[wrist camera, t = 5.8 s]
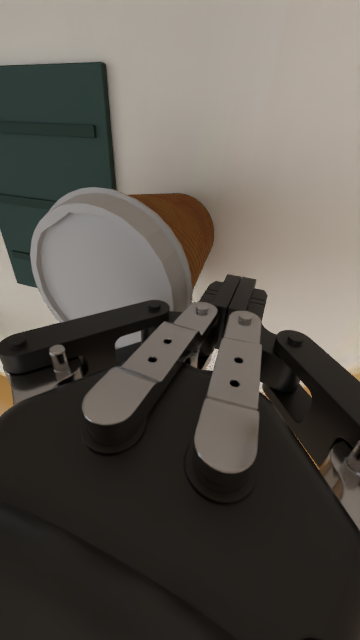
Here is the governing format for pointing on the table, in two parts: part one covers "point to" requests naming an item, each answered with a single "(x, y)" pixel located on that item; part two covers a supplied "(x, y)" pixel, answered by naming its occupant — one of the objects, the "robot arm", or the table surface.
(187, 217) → the disposable coffee cup
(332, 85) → the table surface
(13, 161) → the mat
